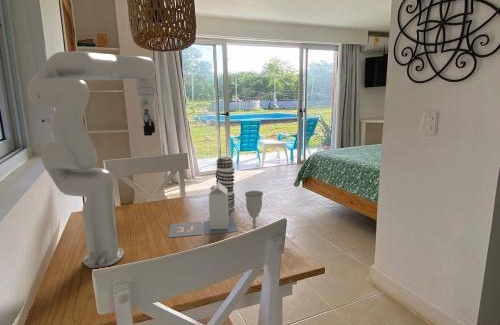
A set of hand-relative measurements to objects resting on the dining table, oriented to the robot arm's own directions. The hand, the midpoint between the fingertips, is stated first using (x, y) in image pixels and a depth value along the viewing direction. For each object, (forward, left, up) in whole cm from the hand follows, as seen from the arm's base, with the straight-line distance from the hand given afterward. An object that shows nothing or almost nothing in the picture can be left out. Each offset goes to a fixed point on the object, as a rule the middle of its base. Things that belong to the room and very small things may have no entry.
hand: (149, 134), depth 131 cm
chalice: (-28, -39, -38) cm, 62 cm away
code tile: (-14, -13, -38) cm, 43 cm away
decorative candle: (+8, -32, -38) cm, 51 cm away
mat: (-14, -27, -38) cm, 49 cm away
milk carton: (-14, -27, -38) cm, 49 cm away
